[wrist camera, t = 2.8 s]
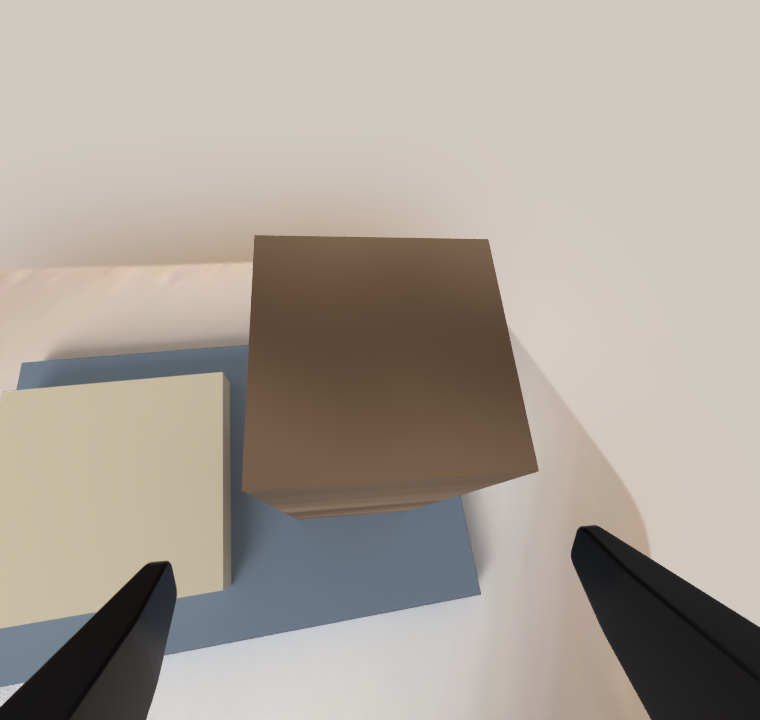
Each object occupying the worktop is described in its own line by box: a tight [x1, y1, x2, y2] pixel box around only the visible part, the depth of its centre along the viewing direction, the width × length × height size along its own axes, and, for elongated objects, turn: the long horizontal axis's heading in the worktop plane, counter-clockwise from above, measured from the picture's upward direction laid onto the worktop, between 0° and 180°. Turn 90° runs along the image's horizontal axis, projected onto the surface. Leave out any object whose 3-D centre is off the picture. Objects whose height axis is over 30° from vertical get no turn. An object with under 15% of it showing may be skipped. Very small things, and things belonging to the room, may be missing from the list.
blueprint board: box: [0, 345, 481, 687], centre depth 19 cm, size 20×13×2 cm, turn 98°
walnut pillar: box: [241, 235, 539, 520], centre depth 14 cm, size 5×5×13 cm
